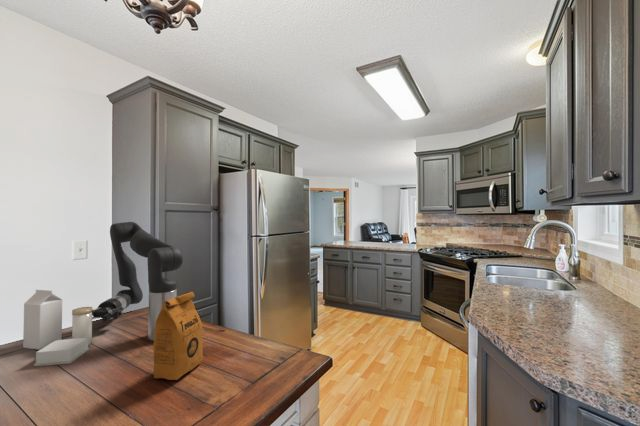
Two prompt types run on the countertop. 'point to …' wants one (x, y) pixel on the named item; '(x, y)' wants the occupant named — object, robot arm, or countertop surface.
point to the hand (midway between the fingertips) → (90, 320)
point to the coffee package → (177, 338)
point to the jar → (82, 323)
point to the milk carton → (42, 320)
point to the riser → (61, 352)
